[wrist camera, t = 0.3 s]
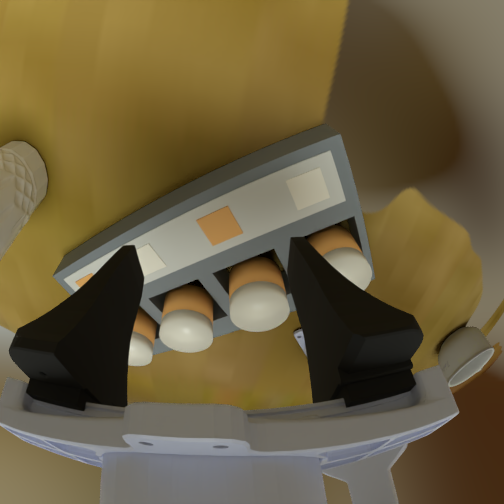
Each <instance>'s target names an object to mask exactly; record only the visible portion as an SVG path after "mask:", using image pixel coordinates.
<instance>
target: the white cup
mask: <svg viewBox="0 0 504 504" xmlns="http://www.w3.org/2000/svg"><path fill="white" fill-rule="evenodd" d="M47 184H48V177H47V172H46V168H45V163H44V162H43V160H42V158H41V157H40V155H39V153H38V152H37V150H36V149H35V148H33V147H32V146H30V145H29V144H28V143H26V142H24V141H11V142H9V143H8V144H6V145H4V146H2V147H0V260H1V259H2V257H3V256H4V254H5V253H6V251H7V250H8V248H9V247H10V246H11V244H12V243H13V241H14V240H15V238H16V236H17V235H18V234H19V232H20V231H21V230H22V228H23V226H24V225H25V224H26V223H27V221H28V220H29V219H30V216H31V214H32V213H33V212H34V211H35V210H36V208H37V207H38V206H39V204H40V203H41V201H42V200H43V198H44V197H45V195H46V191H47Z"/></svg>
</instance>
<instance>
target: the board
mask: <svg viewBox="0 0 504 504" xmlns="http://www.w3.org/2000/svg"><path fill="white" fill-rule="evenodd" d="M346 219H347V220H348V224H349V228H350V232H351V235H352V236H353V238H354V239H355V241H356V243H357V244H358V246H359V248H360V250H361V251H362V253H363V255H364V256H365V258H366V260H367V262H368V263H369V265H370V267H371V270H372V278H371V280H373V279H375V276H374V270H373V264H372V258H371V253H370V248H369V243H368V238H367V233H366V228H365V224H364V219H363V215H362V210H361V206H360V203H359V198H358V194H357V190H356V186H355V182H354V179H353V175H352V171H351V168H350V165H349V161H348V158H347V154H346V151H345V147H344V144H343V141H342V138H341V135H340V133H338V132H337V131H335V130H334V129H333V128H331V127H330V126H328V125H327V124H323V125H320V126H318V127H315V128H312V129H310V130H307V131H304V132H302V133H299V134H297V135H294V136H292V137H289V138H287V139H284V140H282V141H279V142H277V143H274V144H272V145H270V146H267V147H265V148H263V149H260V150H258V151H256V152H253V153H251V154H249V155H246V156H244V157H242V158H240V159H238V160H235V161H233V162H231V163H229V164H227V165H225V166H222V167H220V168H218V169H216V170H214V171H212V172H210V173H208V174H206V175H204V176H202V177H200V178H198V179H196V180H194V181H192V182H190V183H188V184H186V185H184V186H182V187H180V188H178V189H176V190H174V191H172V192H170V193H168V194H167V195H165V196H163V197H161V198H159V199H157V200H155V201H154V202H152V203H150V204H148V205H146V206H145V207H143V208H141V209H139V210H138V211H136V212H134V213H132V214H131V215H129V216H127V217H125V218H124V219H122V220H120V221H119V222H117V223H115V224H114V225H112V226H110V227H109V228H107V229H105V230H104V231H102V232H100V233H99V234H97V235H96V236H94V237H93V238H91V239H89V240H88V241H86V242H85V243H83V244H82V245H80V246H78V247H77V248H75V249H74V250H72V251H71V252H69V253H68V254H66V255H65V256H64V257H63V259H62V261H61V262H60V264H59V266H58V268H57V269H56V271H55V273H54V275H53V277H54V278H55V279H56V280H57V281H58V282H59V283H60V284H61V285H62V287H63V288H64V289H65V290H66V291H67V292H68V293H69V294H70V295H72V294H73V293H75V292H76V291H77V290H78V289H79V288H80V287H82V286H83V285H84V284H85V283H86V282H87V281H88V280H89V279H90V278H91V277H92V276H93V275H94V274H95V273H96V272H97V271H98V270H99V269H100V268H101V267H102V266H103V265H104V264H105V263H106V262H107V261H108V260H109V259H110V258H111V257H112V256H113V255H114V254H115V253H116V252H117V251H118V250H119V249H120V248H121V247H122V246H123V245H135V248H136V251H137V255H138V258H139V261H140V265H141V268H142V271H143V274H144V285H143V292H142V298H141V302H140V306H141V307H142V308H143V309H144V310H145V311H146V312H147V313H148V314H149V315H150V316H151V317H152V318H153V319H154V320H155V321H156V322H157V329H156V335H155V342H154V348H153V355H155V354H159V353H162V352H166V351H170V350H173V349H171V348H169V347H168V346H166V345H165V344H164V343H163V342H162V341H161V339H160V337H159V331H160V325H161V319H162V313H163V307H164V302H165V296H166V294H167V292H168V291H169V290H171V289H174V288H177V287H179V286H182V285H184V284H187V283H189V282H192V281H194V280H197V279H199V281H200V282H201V283H202V285H203V286H204V287H205V288H206V290H207V291H208V292H209V293H210V294H211V296H212V297H213V298H212V299H213V338H215V337H218V336H221V335H224V334H228V333H231V332H234V331H237V330H240V328H239V327H237V326H236V325H234V323H233V322H232V321H231V318H230V303H229V273H228V271H227V270H226V268H227V267H229V266H232V265H234V264H237V263H239V262H242V261H244V260H247V259H249V258H252V257H254V256H257V255H259V254H262V253H264V252H267V251H269V250H272V249H274V250H275V252H276V254H277V256H278V258H279V260H280V262H281V264H282V265H283V267H284V269H285V271H283V272H281V274H282V278H283V282H284V287H285V291H286V295H287V299H288V304H289V308H290V312H292V311H295V310H296V307H295V304H294V301H293V298H292V294H291V291H290V286H289V280H288V274H287V267H288V257H289V247H290V237H304V236H306V235H309V234H311V233H314V232H316V231H319V230H321V229H324V228H326V227H328V226H331V225H333V224H336V223H338V222H341V221H343V220H346ZM290 312H289V313H290Z"/></svg>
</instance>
